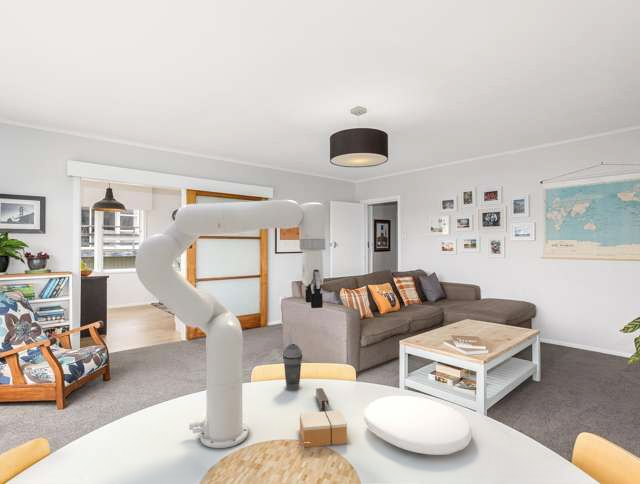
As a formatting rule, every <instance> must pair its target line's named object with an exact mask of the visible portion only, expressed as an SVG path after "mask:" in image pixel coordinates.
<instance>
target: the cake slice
mask: <svg viewBox="0 0 640 484" xmlns="http://www.w3.org/2000/svg"><path fill="white" fill-rule="evenodd" d="M325 414H326V416H327V418H328V421H329V423H330V425H331V445H342V444H343V445H344V444H347V443H348V429H347V428H348V427H347V422H346V420H345V418H344V416H343V415H342V412H341V410H330V411H326V412H325Z"/></svg>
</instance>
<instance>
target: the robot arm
mask: <svg viewBox="0 0 640 484" xmlns="http://www.w3.org/2000/svg"><path fill="white" fill-rule="evenodd" d="M295 228H299V229H298V230H299V231H298V232H299V233H298V234H299V236H298V237H299V251H300V252H302V257H301V258H302V260H301V283H302V284H303V285H304V286H305V292H304V293H305V303H307V304H309V303H310V308H311V309H323V307H324V306H323V305H324V303H323V302H324V301H323V300H324V299H323V286H322V285H323V284H324V260H323V258H324V257H323V252H324V251H326V250H327V249H326V209H325V205H324V204H323V203H322V202H305V203H301V204H299V203H298V202H297V201H295V200H292V199H273V200H270V199H269V200H253V201H234V202H233V201H232V202H231V201H230V202H210V203H209V202H207V203H205V202H204V203H189V204H184V205H182V206H181V207H179V208H178V210H177V211H176V213H175V216H174V220H173V221H172V222H171V223H170V224H169V225H168V226H167V227H166V228H164V230H162V232H160V233H159V234H153V235H149V236H147V237H146V238H145V239H143V241H142V242H141V243H140V245H139V247H138V249H137V251H136V255H135V259H134V260H135V261H134V262H135V263H134V266H135V272H136V275H137V277H138V279H139V281H140V283H141V284H142V285H143V287H144V288H145V289H146V290H147V291H148V292H149V294H151V295H152V296H153V297H154V298H155V299H157V300H158V301H159V302H160V303H161V304H162V305H163V306H164V307H165V308H166V309H167V310H169V312H171V313H172V314H173V315H174V316H175V317H176V318H177V319H178V320H179V321H180V322H181V323H183V324H184V325H185V326H187V327H189V328H193V329H195V328H198V329H199V330H200V331H202V333H204V334H205V335H206V337H205V359H206V360H205V362H206V363H205V364H206V369H205V371H206V373H205V374H206V376H205V377H206V378H205V379H206V416H205V419H201V420H200V421H197V420H196V421H190V422H189V425H188V427H189V430H190V431H192V434H197V433H200V436H199V439H200V442H201V443H202V445H204V446H206V447H209V448H213V449H227V448H230V447H234V446H236V445H239V444H240V443H242V442H244V441H245V440H246V439H247V438H248V435H249V428H248V426H247V425H246V424H245V423H243V351H244V335H243V329H242V325H241V323H240V320H239V318H238V317H237V316H236V315H235V314H234V313H233V312H231V310H230V309H229V308H227V307H226V306H225V305H224V304H223V303H222V302H221V301H220V300H218V299H217V298H216V297H215V296H214V295H213V294H212V293H211V292H209V291H207V290H206V289H203V288H197V287H195V286H194V285H192V283H190V282H189V281H188V280H187V279H186V278H185V277H184V276H183V275H182V274H181V273H180V272H179V271H177V270H176V269H175V268H174V266H173V264H172V263H174V262H175V261H176V260H178V259H179V258H180V257H181V256H182V255H183V254H184V253H185V252H186V251H187V250H188V249H189V248H190V247H191V246H192V245H193V244H194V243H195V242H196V241H197V240H198V239H199V238H200V237H201V236H202V235H203V236H205V235H221V234H223V235H225V234H240V233H241V234H242V233H245V232H251V231H255V230H266V229H268V230H269V229H282V230H288V229H295Z"/></svg>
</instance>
